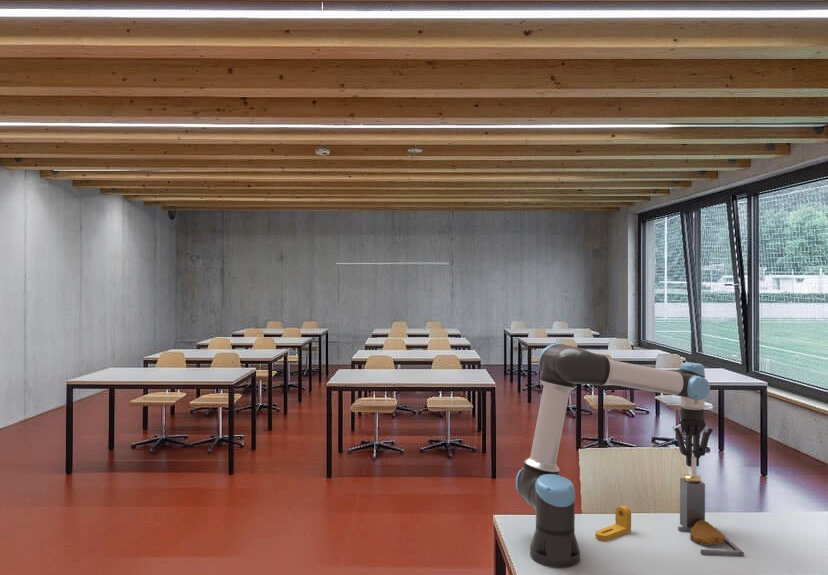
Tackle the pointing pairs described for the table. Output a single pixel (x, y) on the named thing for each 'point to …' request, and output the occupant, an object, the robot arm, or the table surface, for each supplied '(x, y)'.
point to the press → (699, 515)
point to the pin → (692, 478)
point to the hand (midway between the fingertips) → (692, 475)
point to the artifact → (705, 534)
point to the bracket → (616, 525)
